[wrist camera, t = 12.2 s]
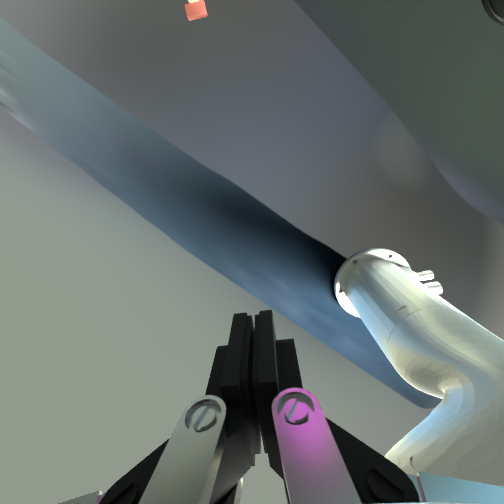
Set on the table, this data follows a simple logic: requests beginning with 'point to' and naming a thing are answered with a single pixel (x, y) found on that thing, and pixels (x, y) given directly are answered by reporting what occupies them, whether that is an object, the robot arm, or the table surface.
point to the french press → (495, 10)
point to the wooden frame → (195, 9)
